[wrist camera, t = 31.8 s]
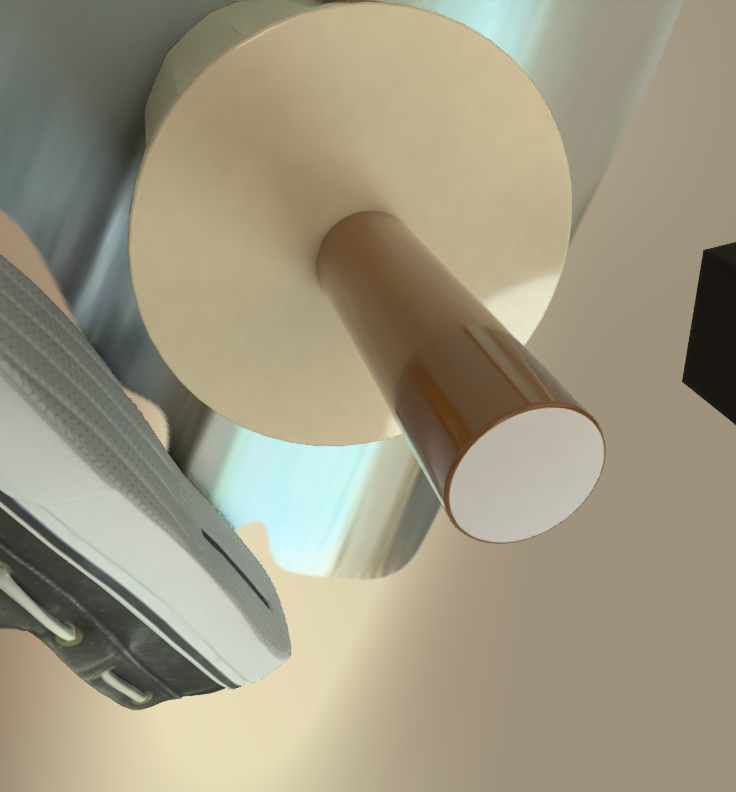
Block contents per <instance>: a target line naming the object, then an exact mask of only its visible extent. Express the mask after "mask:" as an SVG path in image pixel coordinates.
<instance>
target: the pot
mask: <svg viewBox="0 0 736 792" xmlns="http://www.w3.org/2000/svg"><path fill="white" fill-rule="evenodd" d="M324 4H328V3H324V2H318V1H312V0H243V1H238V2H236V3H233V4H231V5H228V6H226V7H223V8H220V9H217V10H214V11H212V12H210V13H209V14H208V15H207V16H206V17H204V18H203V19H202V20H201V21H200V22H198V23H197V24H196V25H195V26H193V27H192V28H191V29H190V30H188V31H187V33H186V34H185V35H184V36H183V37H182V38H181V39H180V40H179V41H178V42H177V43H176V44H175V46H173V47H172V48H171V49H170V50H169V51H168V53H167V54H166V57H165V59H164V62H163V64H162V66H161V68H160V70H159V72H158V74H157V76H156V79H155V82H154V85H153V88H152V91H151V93H150V96H149V98H148V101H147V103H146V106H145V150H146V147H147V145H148V143H149V141H150V139H151V137H152V135H153V133H154V131H155V130H156V128H157V126H158V124H159V122H160V120H161V118H162V116H163V115H164V113H165V112H166V111H167V109H168V108H169V106H170V105H171V103H172V102H173V101H174V99H175V98H176V96H177V95H178V94H179V92H180V91H181V89H182V88H183V87H184V86H185V85H186V84H187V83H188V82H189V81H190V80H191V79H192V78H193V77H194V75H195V74H196V73H197V72H198V71H199V70H200V69H201V68H202V67H203V66H204V65H205V64H206V63H207V62H208V61H210V60H211V59H212V58H213V57H215V56H216V55H217V54H218V53H220V52H221V51H222V50H223V49H225V48H226V47H227V46H228V45H230V44H231V43H232V42H233V41H235V40H237V39H239V38H240V37H242V36H244V35H246V34H247V33H249V32H251V31H252V30H254V29H256V28H258V27H259V26H261V25H263V24H265V23H267V22H270V21H272V20H275V19H277V18H280V17H282V16H285V15H287V14H290V13H292V12H295V11H298V10H302V9H307V8H311V7H315V6H319V5H324Z"/></svg>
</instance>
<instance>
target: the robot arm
mask: <svg viewBox="0 0 736 792" xmlns="http://www.w3.org/2000/svg"><path fill="white" fill-rule="evenodd" d="M682 382H683V383H684V384H686V385H687V386H688V387H689V388H691V389H692V390H693V391H694V392H696V393H697V394H698V395H699V396H701V397H702V398H703V399H704V400H706V401H707V402H708V403H709V404H710V405H712V406H713V407H714V408H715V409H717V410H718V411H719V412H721V413H722V414H723V415H724V416H725V417H727V418H728V419H729V420H730V421H732V422H733V423H734V424H735V425H736V242H735V243H730V244H726V245H722V246H718V247H715V248H710V249H706V250H704V251H703V257H702V263H701V270H700V275H699V282H698V287H697V294H696V300H695V306H694V313H693V319H692V324H691V330H690V337H689V343H688V349H687V356H686V362H685V368H684V373H683V379H682Z"/></svg>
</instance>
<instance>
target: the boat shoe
mask: <svg viewBox="0 0 736 792" xmlns="http://www.w3.org/2000/svg"><path fill="white" fill-rule="evenodd" d="M0 629H18V630H22V631H29V632H30V633H32V634H33V635H34V636H36V637H37V638H39V639H40V640H41V641H42V642H44V643H45V644H46V645H47V646H48V647H49V648H50V649H51V650H52V651H53V652H54V653H55V654H56V655H57V656H58V657H59V658H60V659H61V660H62V661H63V662H64V663H65V664H66V665H67V666H68V667H69V668H70V669H71V670H72V671H73V672H75V673H76V674H77V675H78V676H79V677H80V678H81V679H83V680H84V681H85V682H86V683H88V684H89V685H90V686H92V687H93V688H95V689H96V690H97V691H99V692H100V693H102V694H103V695H105V696H107V697H109V698H111V699H112V700H113V701H115V702H116V703H118V704H120V705H121V706H123V707H126V708H129V709H132V710H141V709H145V708H148V707H152V706H154V705H156V704H159V703H161V702H164V701H167V700H173V699H180V698H182V697H183V696H194V695H202V694H209V693H213V692H217V691H219V690H222V689H224V688H228V689H235V688H238V687H241V686H242V685H244V684H246V683H248V682H250V683H254V682H257V681H258V680H259V679H262V678H264V677H266V676H267V675H268V674H270V673H271V672H272V671H274V670H276V669H277V668H278V667H280V666H281V665H282V664H283V663H284V662H286V661H287V660H288V659H289V658H290V656H291V642H290V638H289V634H288V627H287V623H286V620H285V615H284V613H283V610H282V607H281V604H280V600H279V597H278V595H277V593H276V589H275V587H274V585H273V583H272V582H271V580H270V578H269V577H268V575H267V573H266V571H265V570H264V569H263V567H262V565H261V564H260V563H259V561H258V560H257V559H256V558H255V556H254V555H253V554H252V552H251V551H250V550H249V549H248V548H247V546H246V545H245V544H244V543H243V541H242V540H241V539H240V537H239V536H238V535H237V534H236V533H235V531H234V530H233V529H232V528H231V527H230V526H229V524H228V523H227V522H226V521H225V520H224V518H223V517H222V516H221V515H220V514H219V513H218V511H216V509H215V508H214V507H213V506H212V504H211V503H210V502H209V501H208V500H207V499H206V498H205V497H204V496H203V495H201V494H200V493H199V491H198V490H197V489H196V488H195V487H194V486H193V485H192V484H191V483H190V481H189V480H188V479H187V478H186V477H185V476H184V474H183V473H182V472H181V471H180V469H179V468H178V467H177V465H176V464H175V462H174V461H173V460H172V458H171V457H170V455H169V454H168V453H167V451H166V450H165V448H164V446H163V445H162V443H161V442H160V440H159V439H158V438H157V436H156V434H155V433H154V431H153V430H152V428H151V426H150V425H149V423H148V422H147V421H146V420H145V419H144V417H143V415H142V413H141V412H140V411H139V410H138V408H137V406H136V405H135V404H134V403H133V402H132V400H131V399H130V398H128V397H127V396H126V394H125V393H124V391H123V389H122V386H121V384H120V382H119V381H118V380H117V379H116V377H115V375H114V374H113V373H112V372H111V370H110V369H109V368H108V367H107V365H106V363H105V362H104V361H103V360H102V359H101V357H100V356H99V354H98V353H97V352H96V351H95V349H94V348H93V347H92V345H91V344H90V343H89V342H88V341H87V339H86V338H85V337H84V336H83V335H82V333H81V332H80V331H79V330H78V329H77V327H76V326H75V325H74V324H73V323H72V322H71V321H70V320H69V318H68V317H67V316H66V315H65V314H64V313H63V312H62V311H61V310H60V309H59V308H58V307H57V306H56V305H55V304H54V303H53V302H52V301H51V300H50V299H49V298H48V296H46V294H45V293H44V292H43V291H42V290H40V288H39V287H37V286H36V285H35V284H34V283H33V282H32V281H31V280H30V279H29V278H28V277H27V276H25V275H24V274H23V273H22V272H21V271H20V270H19V269H17V268H16V267H15V266H14V265H13V264H11V263H10V262H9V261H8V260H7V259H5V258H4V257H3V256H2V255H0Z"/></svg>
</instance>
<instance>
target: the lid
mask: <svg viewBox="0 0 736 792" xmlns="http://www.w3.org/2000/svg"><path fill="white" fill-rule="evenodd" d="M571 219H572V189H571V181H570V174H569V167H568V161H567V157H566V154H565V150H564V146H563V143H562V139H561V136H560V133H559V130H558V128H557V126H556V124H555V121H554V119H553V117H552V114H551V112H550V110H549V107H548V106H547V104H546V103H545V101H544V99H543V98H542V96H541V95H540V93H539V91H538V90H537V88H536V87H535V85H534V83H533V82H532V81H531V80H530V79H529V77H528V76H527V75H526V74H525V73H524V72H523V70H522V69H521V68H520V67H519V66H518V64H517V63H516V62H515V61H514V60H513V59H512V58H511V57H509V56H508V55H507V54H506V53H505V52H504V51H503V50H501V49H500V48H499V47H498V46H497V45H496V44H494V43H493V42H492V41H491V40H489V39H488V38H486V37H484V36H483V35H481V34H480V33H478V32H476V31H475V30H473V29H471V28H470V27H468V26H467V25H465V24H463V23H460V22H458V21H456V20H453V19H451V18H448V17H446V16H444V15H441V14H439V13H436V12H433V11H429V10H425V9H421V8H416V7H412V6H408V5H404V4H399V3H390V2H377V1H365V0H363V1H350V2H337V3H328V4H324V5H319V6H315V7H311V8H307V9H302V10H298V11H295V12H292V13H290V14H287V15H285V16H282V17H280V18H277V19H275V20H272V21H270V22H267V23H265V24H263V25H261V26H259V27H258V28H256V29H254V30H252V31H251V32H249V33H247V34H246V35H244V36H242V37H240V38H239V39H237V40H235V41H233V42H232V43H231V44H230V45H228V46H227V47H226V48H225V49H223V50H222V51H221V52H220V53H218V54H217V55H216V56H215V57H213V58H212V59H211V60H210V61H208V62H207V63H206V64H205V65H204V66H203V67H202V68H201V69H200V70H199V71H198V72H197V73H196V74H195V75H194V77H193V78H192V79H191V80H190V81H189V82H188V83H187V84H186V85H185V86H184V87H183V88H182V89H181V91H180V92H179V94H178V95H177V96H176V98H175V99H174V101H173V102H172V103H171V105H170V106H169V108H168V109H167V111H166V112H165V113H164V115H163V116H162V118H161V120H160V122H159V124H158V126H157V128H156V130H155V131H154V133H153V135H152V137H151V139H150V141H149V143H148V145H147V147H146V150H145V153H144V156H143V158H142V161H141V164H140V167H139V170H138V173H137V176H136V179H135V184H134V189H133V194H132V200H131V205H130V210H129V230H128V258H129V268H130V277H131V283H132V287H133V291H134V295H135V299H136V303H137V307H138V310H139V313H140V315H141V318H142V320H143V323H144V325H145V328H146V330H147V332H148V335H149V337H150V339H151V340H152V342H153V344H154V345H155V347H156V349H157V351H158V352H159V354H160V356H161V357H162V359H163V361H164V362H165V363H166V364H167V366H168V367H169V368H170V369H171V371H172V372H173V373H174V374H175V376H176V377H177V378H178V379H179V381H180V382H181V383H182V384H183V385H184V386H185V387H186V388H188V389H189V390H190V391H191V392H192V393H193V394H194V395H195V396H196V397H197V398H198V399H199V400H200V401H202V402H203V403H205V404H206V405H207V406H209V407H210V408H211V409H213V410H214V411H216V412H217V413H218V414H220V415H221V416H223V417H225V418H227V419H229V420H231V421H232V422H234V423H236V424H238V425H240V426H242V427H244V428H246V429H249V430H251V431H254V432H256V433H259V434H262V435H264V436H267V437H271V438H275V439H279V440H283V441H287V442H291V443H298V444H306V445H314V446H345V445H356V444H365V443H370V442H375V441H380V440H385V439H389V438H392V437H395V436H399V435H402V434H403V435H404V437H405V439H406V441H407V442H408V444H409V446H410V448H411V450H412V452H413V453H414V455H415V457H416V459H417V461H418V462H419V464H420V466H421V468H422V470H423V472H424V473H425V475H426V477H427V479H428V481H429V483H430V484H431V486H432V488H433V490H434V492H435V493H436V495H437V497H438V499H439V501H440V503H441V504H442V506H443V508H444V510H445V512H446V514H447V515H448V517H449V519H450V521H451V522H452V523H453V524H454V526H455V527H456V528H457V529H458V530H460V531H461V532H462V533H464V534H465V535H467V536H469V537H471V538H473V539H476V540H478V541H482V542H487V543H496V544H500V543H501V544H502V543H512V542H518V541H522V540H526V539H529V538H532V537H535V536H537V535H540V534H542V533H544V532H546V531H548V530H550V529H552V528H553V527H555V526H557V525H558V524H559V523H561V522H563V521H564V520H565V519H566V518H568V517H569V516H570V515H571V514H573V513H574V512H575V511H576V510H577V509H578V508H579V507H580V506H581V505H582V504H583V502H584V501H585V500H586V499H587V497H588V496H589V495H590V494H591V492H592V491H593V489H594V487H595V485H596V484H597V482H598V480H599V478H600V475H601V473H602V469H603V466H604V462H605V452H606V447H605V440H604V436H603V433H602V430H601V428H600V426H599V424H598V422H597V421H596V420H595V419H594V418H593V416H592V415H591V414H590V413H589V412H588V411H587V410H586V409H585V408H584V407H583V406H582V405H581V404H580V403H579V402H578V401H577V400H576V399H575V398H574V397H573V396H572V395H571V394H570V393H569V392H568V391H567V390H566V389H565V388H564V387H563V386H562V385H561V384H560V383H559V382H558V381H557V379H555V377H554V376H553V375H552V374H551V373H550V372H549V371H548V370H547V369H546V368H545V367H544V366H543V365H542V364H541V363H540V362H539V361H538V360H537V359H536V358H535V357H534V356H533V355H532V354H531V353H530V352H529V351H528V350H527V349H526V348H525V347H524V345H525V344H526V343H527V342H528V340H529V339H530V337H531V335H532V334H533V332H534V331H535V329H536V328H537V326H538V324H539V323H540V321H541V319H542V318H543V316H544V314H545V312H546V310H547V308H548V305H549V303H550V301H551V299H552V297H553V295H554V292H555V290H556V287H557V284H558V281H559V278H560V276H561V273H562V270H563V266H564V262H565V258H566V253H567V249H568V245H569V237H570V228H571Z"/></svg>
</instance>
